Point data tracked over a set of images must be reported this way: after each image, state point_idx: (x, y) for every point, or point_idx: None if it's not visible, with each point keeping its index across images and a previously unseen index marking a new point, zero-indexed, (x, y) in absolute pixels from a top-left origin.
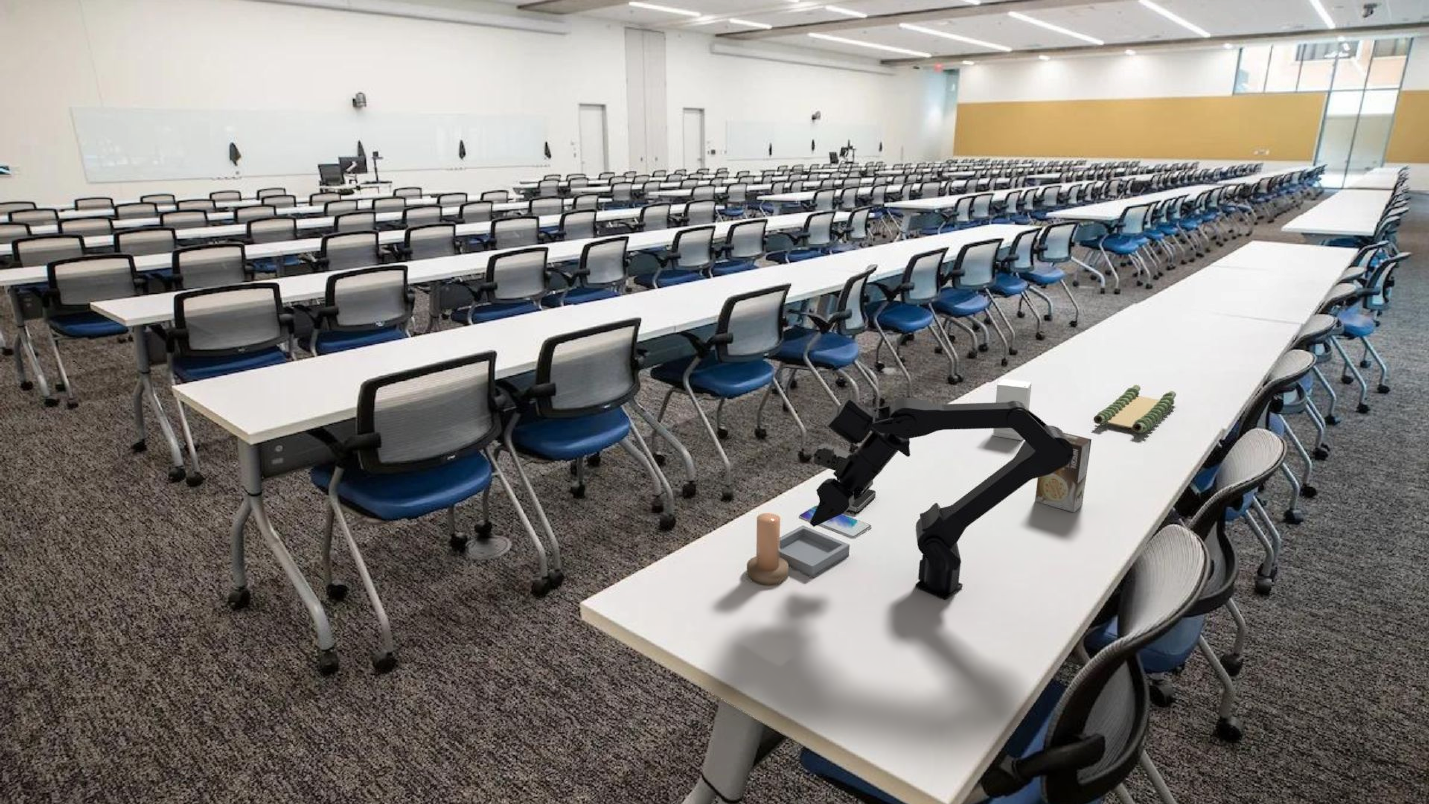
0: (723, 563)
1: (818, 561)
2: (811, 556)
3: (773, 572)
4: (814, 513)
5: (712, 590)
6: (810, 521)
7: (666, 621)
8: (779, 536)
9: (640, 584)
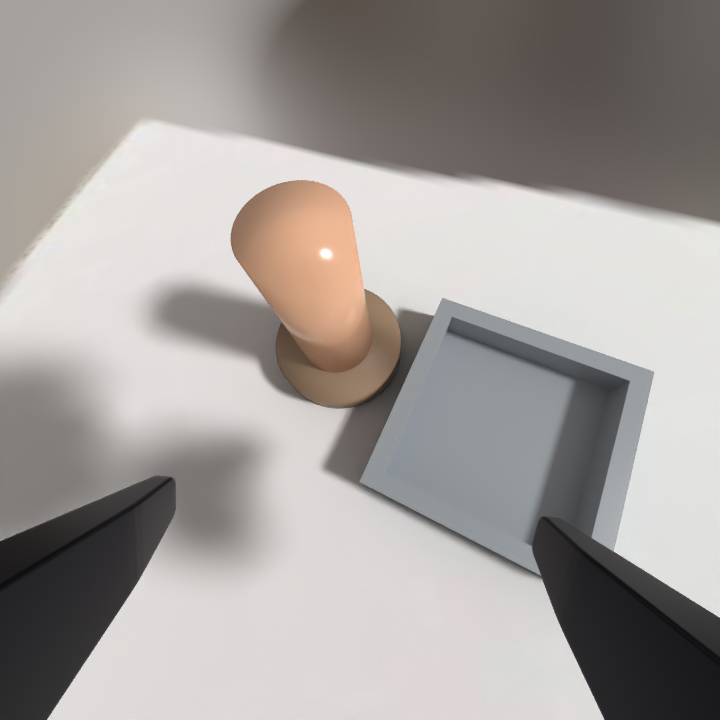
0: (360, 239)
1: (401, 495)
2: (482, 451)
3: (301, 367)
4: (27, 532)
5: (235, 260)
6: (144, 482)
7: (110, 227)
8: (313, 326)
9: (229, 141)
